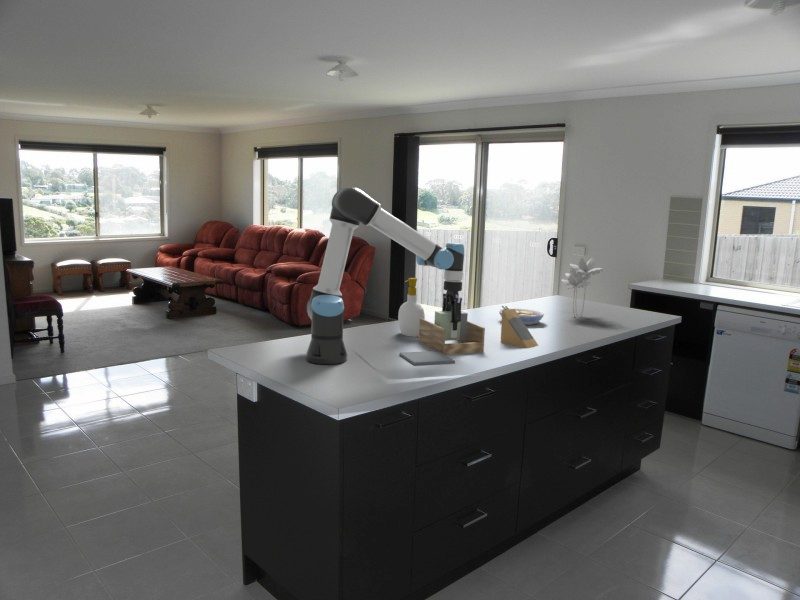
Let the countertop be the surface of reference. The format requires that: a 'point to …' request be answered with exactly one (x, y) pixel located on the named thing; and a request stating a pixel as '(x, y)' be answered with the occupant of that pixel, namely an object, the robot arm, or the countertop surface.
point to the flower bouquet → (580, 277)
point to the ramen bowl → (526, 315)
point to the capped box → (444, 321)
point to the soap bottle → (410, 312)
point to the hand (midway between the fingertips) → (449, 336)
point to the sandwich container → (515, 330)
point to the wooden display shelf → (436, 340)
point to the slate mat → (426, 357)
